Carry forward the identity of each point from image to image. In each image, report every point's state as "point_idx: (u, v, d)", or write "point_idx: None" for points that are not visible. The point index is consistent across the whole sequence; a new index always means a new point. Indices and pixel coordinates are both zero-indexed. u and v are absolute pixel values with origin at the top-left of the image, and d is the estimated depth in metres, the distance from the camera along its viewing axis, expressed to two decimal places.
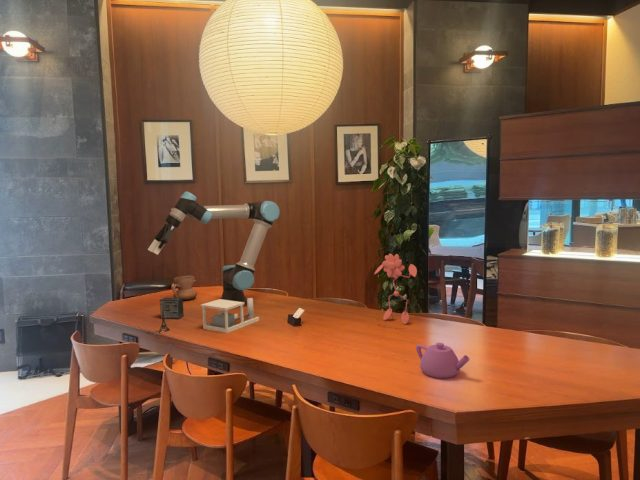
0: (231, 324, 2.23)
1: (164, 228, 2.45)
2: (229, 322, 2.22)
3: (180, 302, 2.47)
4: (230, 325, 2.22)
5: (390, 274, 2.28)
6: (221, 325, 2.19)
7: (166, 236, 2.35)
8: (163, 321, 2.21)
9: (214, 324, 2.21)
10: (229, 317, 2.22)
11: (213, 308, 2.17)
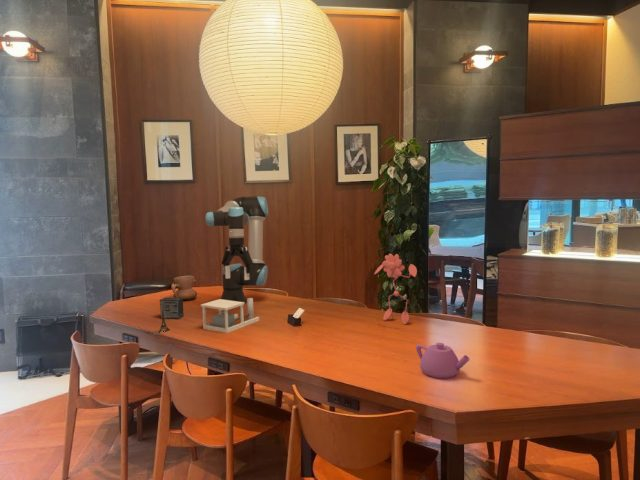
0: (231, 324, 2.23)
1: (232, 252, 2.35)
2: (229, 322, 2.22)
3: (180, 302, 2.47)
4: (230, 325, 2.22)
5: (390, 274, 2.28)
6: (221, 325, 2.19)
7: (249, 259, 2.30)
8: (163, 321, 2.21)
9: (214, 324, 2.21)
10: (229, 317, 2.22)
11: (213, 308, 2.17)
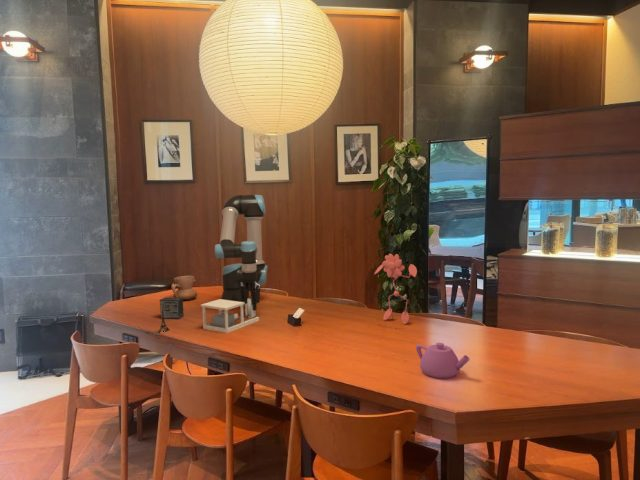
0: (231, 324, 2.23)
1: (246, 285, 2.39)
2: (229, 322, 2.22)
3: (180, 302, 2.47)
4: (230, 325, 2.22)
5: (390, 274, 2.28)
6: (221, 325, 2.19)
7: (257, 298, 2.37)
8: (163, 321, 2.21)
9: (214, 324, 2.21)
10: (229, 317, 2.22)
11: (213, 308, 2.17)
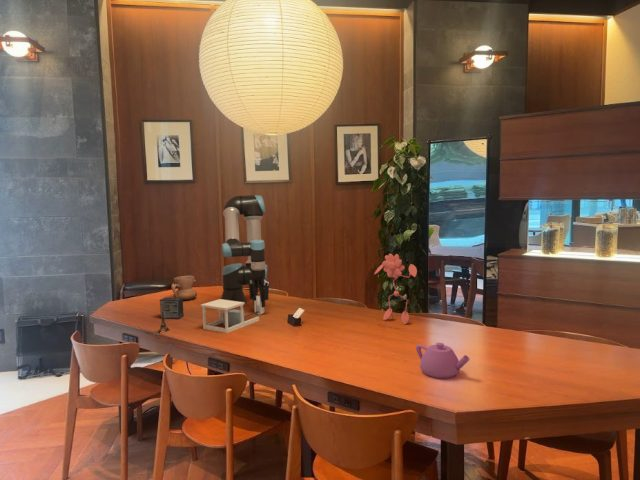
0: None
1: (255, 283, 2.45)
2: (239, 318, 2.28)
3: (180, 302, 2.47)
4: (240, 321, 2.29)
5: (390, 274, 2.28)
6: (232, 321, 2.25)
7: (266, 295, 2.43)
8: (163, 321, 2.21)
9: None
10: (239, 313, 2.28)
11: (213, 308, 2.17)
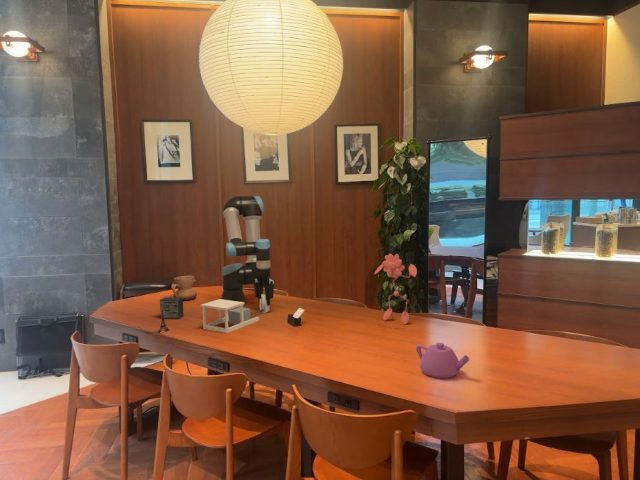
0: (247, 318, 2.33)
1: (261, 281, 2.49)
2: (245, 316, 2.32)
3: (180, 302, 2.47)
4: (246, 319, 2.33)
5: (390, 274, 2.28)
6: (238, 319, 2.29)
7: (271, 293, 2.47)
8: (163, 321, 2.21)
9: (231, 318, 2.31)
10: (245, 311, 2.32)
11: (213, 308, 2.17)
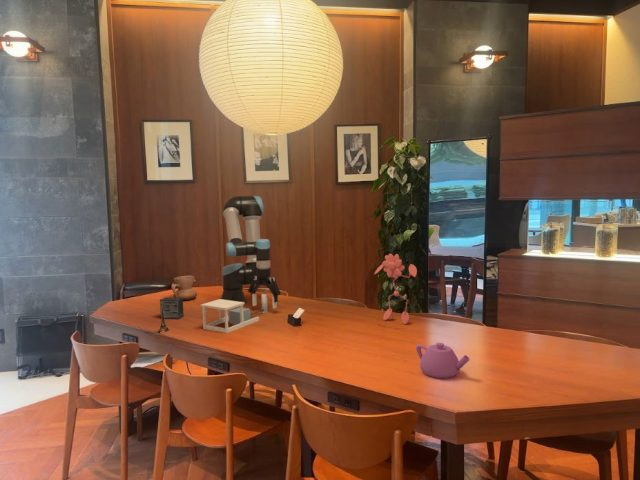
0: (247, 318, 2.33)
1: (260, 281, 2.49)
2: (245, 316, 2.32)
3: (180, 302, 2.47)
4: (246, 319, 2.33)
5: (390, 274, 2.28)
6: (238, 319, 2.29)
7: (277, 290, 2.45)
8: (162, 321, 2.21)
9: (231, 318, 2.31)
10: (245, 311, 2.32)
11: (213, 308, 2.17)
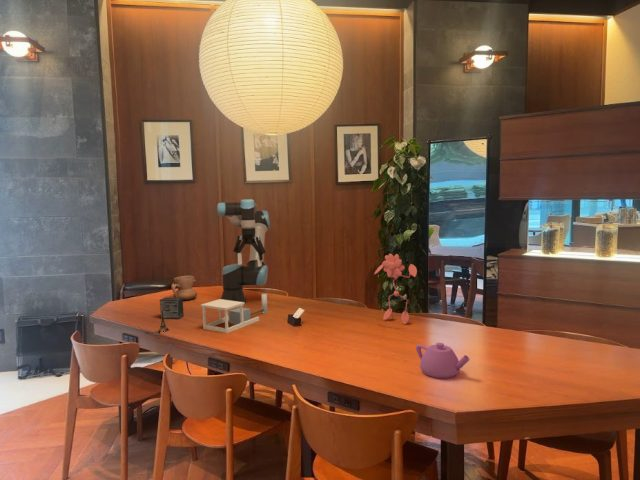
0: (247, 318, 2.33)
1: (245, 241, 2.56)
2: (245, 316, 2.32)
3: (180, 302, 2.47)
4: (246, 319, 2.33)
5: (390, 274, 2.28)
6: (238, 319, 2.29)
7: (262, 248, 2.52)
8: (162, 321, 2.21)
9: (231, 318, 2.31)
10: (245, 311, 2.32)
11: (213, 308, 2.17)
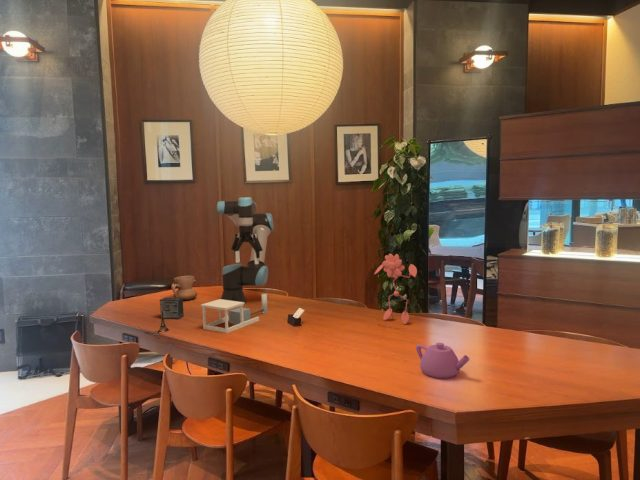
0: (247, 318, 2.33)
1: (242, 238, 2.57)
2: (245, 316, 2.32)
3: (180, 302, 2.47)
4: (246, 319, 2.33)
5: (390, 274, 2.28)
6: (238, 319, 2.29)
7: (258, 246, 2.53)
8: (162, 321, 2.21)
9: (231, 318, 2.31)
10: (245, 311, 2.32)
11: (213, 308, 2.17)
